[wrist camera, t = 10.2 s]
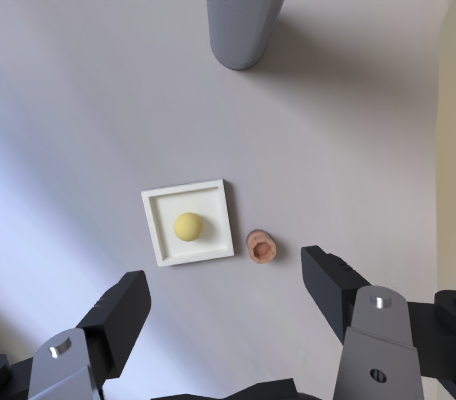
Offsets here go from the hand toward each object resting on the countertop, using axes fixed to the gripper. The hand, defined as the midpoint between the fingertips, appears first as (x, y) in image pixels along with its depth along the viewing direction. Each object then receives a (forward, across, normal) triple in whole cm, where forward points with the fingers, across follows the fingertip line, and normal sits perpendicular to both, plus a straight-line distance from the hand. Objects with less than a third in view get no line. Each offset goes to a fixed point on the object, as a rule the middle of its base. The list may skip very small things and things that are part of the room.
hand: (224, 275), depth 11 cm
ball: (+25, +7, +5) cm, 27 cm away
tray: (+29, +7, +5) cm, 30 cm away
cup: (+29, -5, +11) cm, 31 cm away
